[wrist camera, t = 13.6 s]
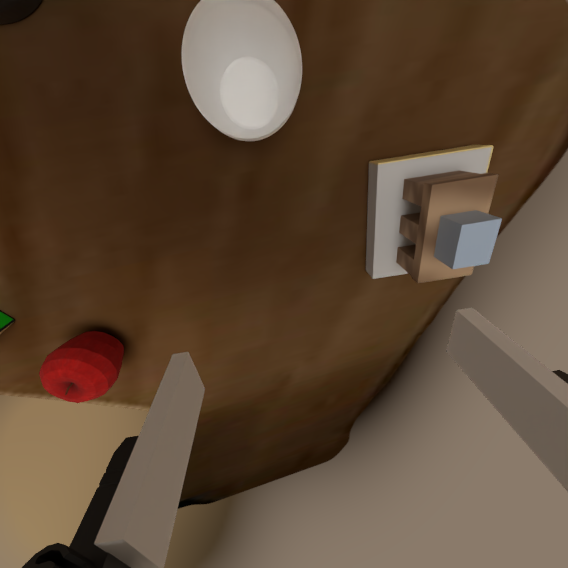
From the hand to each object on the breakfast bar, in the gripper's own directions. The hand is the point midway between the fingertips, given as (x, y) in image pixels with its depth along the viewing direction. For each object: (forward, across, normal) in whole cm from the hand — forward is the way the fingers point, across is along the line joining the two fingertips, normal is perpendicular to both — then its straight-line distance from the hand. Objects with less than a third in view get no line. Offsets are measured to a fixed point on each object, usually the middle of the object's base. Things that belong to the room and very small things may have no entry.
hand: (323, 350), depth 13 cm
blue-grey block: (+18, +19, -3) cm, 26 cm away
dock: (+27, +19, -3) cm, 33 cm away
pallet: (+24, +19, -3) cm, 30 cm away
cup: (+27, -2, +14) cm, 30 cm away
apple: (+27, -34, -17) cm, 47 cm away
